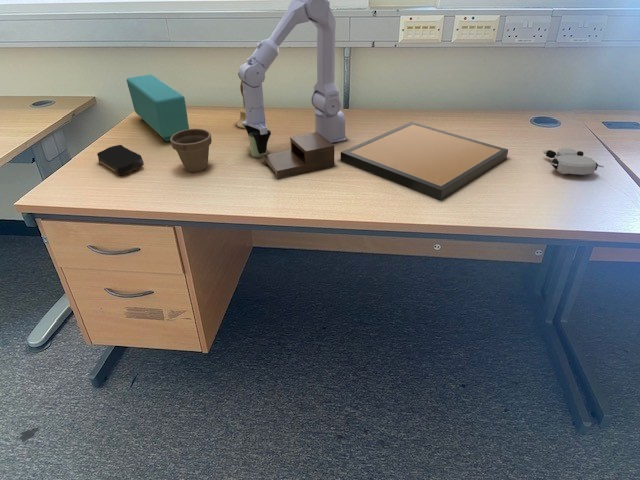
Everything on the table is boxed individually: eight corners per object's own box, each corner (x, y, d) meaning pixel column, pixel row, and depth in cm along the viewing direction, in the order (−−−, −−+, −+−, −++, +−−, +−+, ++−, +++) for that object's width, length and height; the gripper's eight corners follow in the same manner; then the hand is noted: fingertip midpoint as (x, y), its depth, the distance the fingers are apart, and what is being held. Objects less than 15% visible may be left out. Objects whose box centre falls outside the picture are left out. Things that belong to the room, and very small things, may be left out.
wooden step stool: (317, 151, 144) (317, 131, 140) (334, 166, 135) (334, 145, 131) (263, 163, 138) (261, 142, 134) (277, 179, 129) (275, 157, 125)
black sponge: (147, 168, 136) (145, 157, 134) (120, 178, 131) (117, 166, 129) (122, 154, 146) (119, 143, 143) (96, 162, 141) (92, 151, 139)
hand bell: (232, 125, 165) (226, 80, 156) (249, 118, 170) (244, 75, 161) (247, 130, 161) (242, 84, 152) (264, 123, 166) (260, 78, 157)
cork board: (506, 158, 138) (410, 129, 159) (508, 149, 136) (411, 121, 157) (440, 200, 117) (340, 160, 138) (442, 190, 116) (340, 152, 137)
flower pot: (202, 178, 130) (196, 145, 124) (168, 173, 133) (161, 140, 128) (223, 162, 139) (218, 130, 133) (191, 157, 142) (185, 126, 136)
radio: (195, 139, 154) (187, 95, 146) (165, 146, 150) (155, 101, 141) (162, 113, 178) (153, 73, 169) (135, 118, 173) (125, 77, 165)
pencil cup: (264, 149, 146) (262, 130, 143) (269, 155, 143) (267, 135, 139) (248, 152, 145) (246, 133, 141) (254, 158, 141) (251, 138, 137)
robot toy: (538, 159, 138) (553, 178, 125) (541, 145, 136) (557, 162, 123) (581, 161, 137) (600, 180, 124) (585, 146, 134) (605, 164, 122)
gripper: (234, 101, 139) (239, 143, 147) (248, 115, 128) (253, 160, 136) (256, 97, 141) (260, 139, 149) (272, 111, 131) (276, 155, 138)
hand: (258, 148), depth 143 cm, fingers open, 6 cm apart
